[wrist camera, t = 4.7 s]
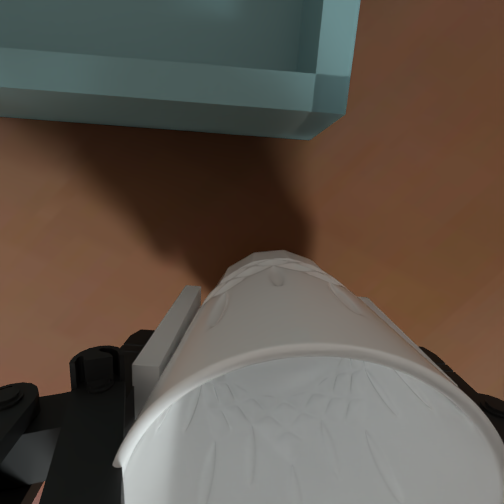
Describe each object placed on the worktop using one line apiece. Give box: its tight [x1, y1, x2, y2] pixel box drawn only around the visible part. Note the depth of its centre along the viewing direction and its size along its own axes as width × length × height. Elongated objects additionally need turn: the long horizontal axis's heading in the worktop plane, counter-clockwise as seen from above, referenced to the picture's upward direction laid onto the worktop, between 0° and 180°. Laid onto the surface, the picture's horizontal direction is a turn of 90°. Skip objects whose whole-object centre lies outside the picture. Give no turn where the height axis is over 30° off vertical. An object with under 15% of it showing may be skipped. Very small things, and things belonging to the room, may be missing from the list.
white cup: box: [112, 250, 504, 504], centre depth 10 cm, size 8×8×10 cm
